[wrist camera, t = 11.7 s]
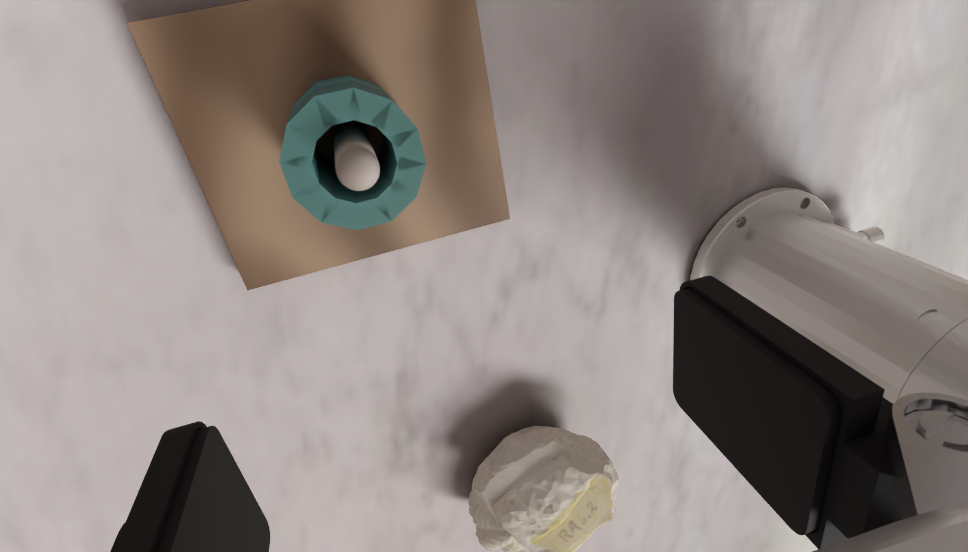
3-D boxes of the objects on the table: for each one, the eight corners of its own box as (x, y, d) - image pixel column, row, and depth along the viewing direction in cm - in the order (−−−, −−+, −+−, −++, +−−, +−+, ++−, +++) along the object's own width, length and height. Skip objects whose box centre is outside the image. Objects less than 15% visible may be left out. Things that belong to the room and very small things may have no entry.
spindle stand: (461, -38, 27) (521, -63, 19) (502, 211, 34) (560, 271, 26) (137, 23, 25) (45, 23, 16) (250, 279, 31) (225, 369, 23)
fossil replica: (438, 503, 44) (536, 500, 48) (467, 603, 37) (578, 589, 42) (492, 395, 39) (595, 403, 44) (536, 487, 33) (652, 485, 37)
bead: (389, 65, 27) (405, 75, 22) (416, 176, 30) (436, 209, 25) (271, 91, 26) (259, 108, 21) (311, 203, 29) (309, 243, 24)
